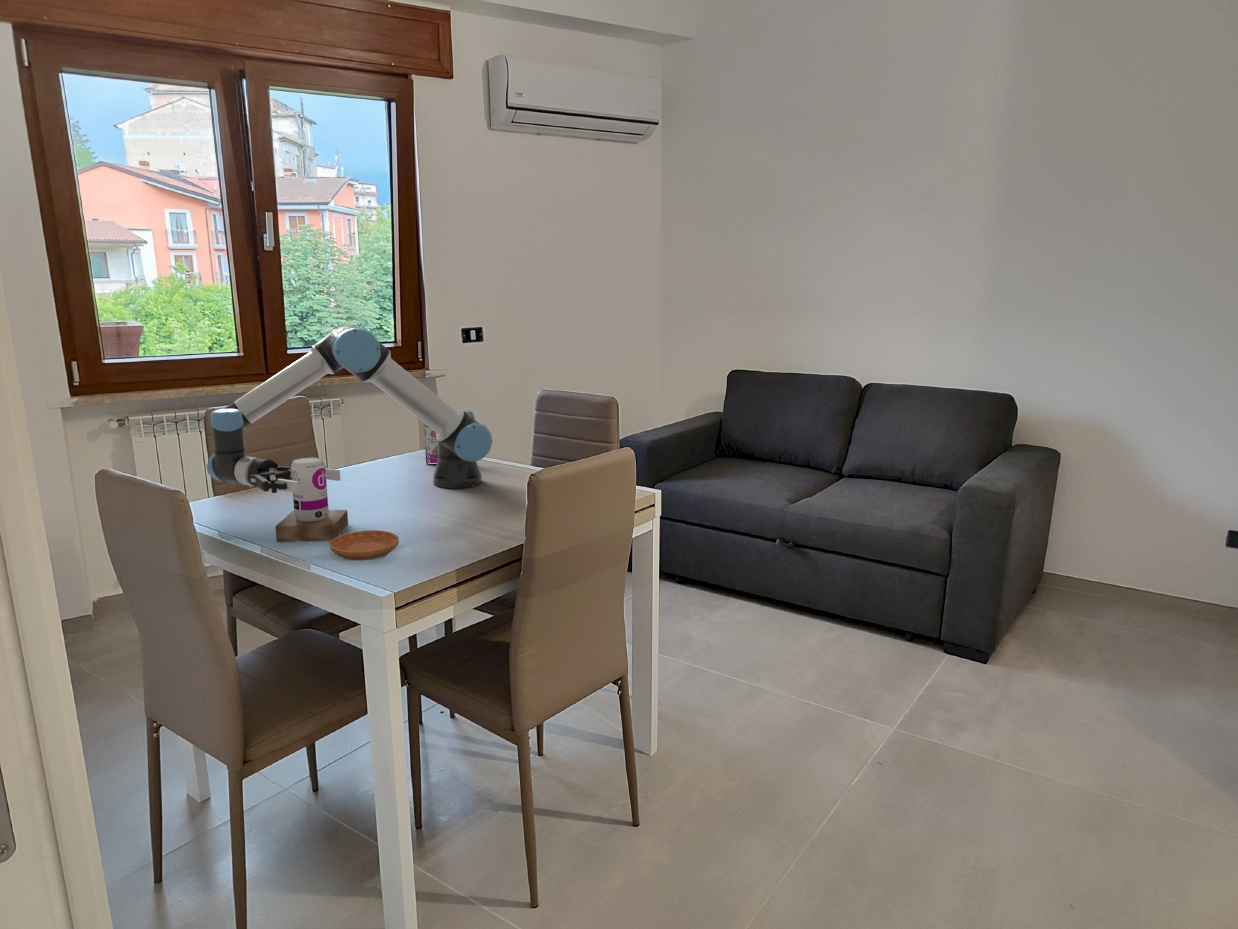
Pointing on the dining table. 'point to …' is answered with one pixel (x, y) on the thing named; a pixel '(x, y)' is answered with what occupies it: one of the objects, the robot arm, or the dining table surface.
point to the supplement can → (310, 489)
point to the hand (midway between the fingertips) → (319, 481)
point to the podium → (312, 527)
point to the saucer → (364, 544)
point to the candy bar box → (431, 445)
